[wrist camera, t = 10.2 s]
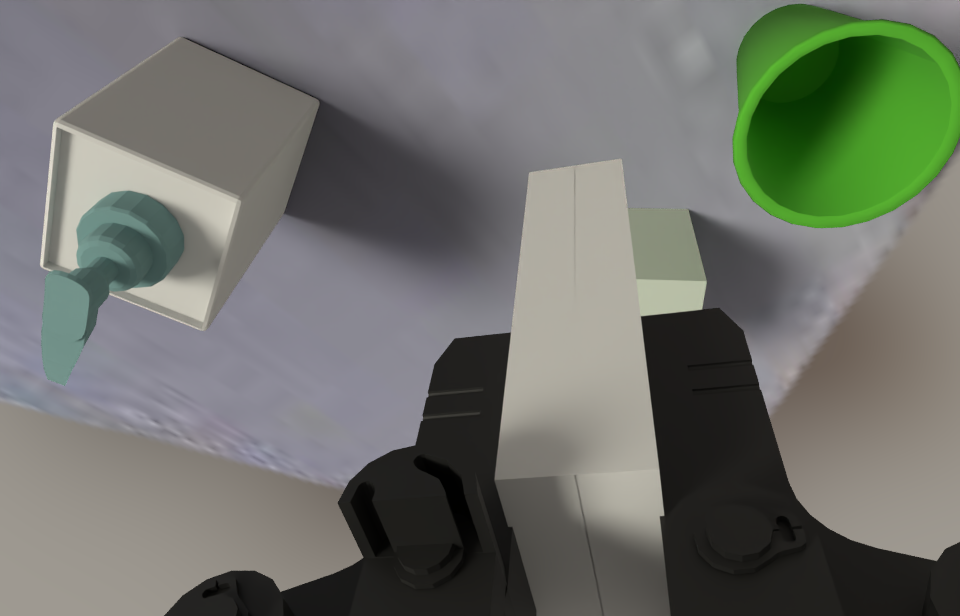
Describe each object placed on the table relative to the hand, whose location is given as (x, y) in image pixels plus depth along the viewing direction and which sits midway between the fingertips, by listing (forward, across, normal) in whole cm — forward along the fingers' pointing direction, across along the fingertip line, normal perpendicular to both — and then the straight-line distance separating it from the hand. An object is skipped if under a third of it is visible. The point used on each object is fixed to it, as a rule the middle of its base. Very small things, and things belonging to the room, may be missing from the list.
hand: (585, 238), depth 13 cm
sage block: (+31, +1, -19) cm, 36 cm away
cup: (+31, +10, -8) cm, 33 cm away
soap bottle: (+31, -22, -7) cm, 38 cm away
